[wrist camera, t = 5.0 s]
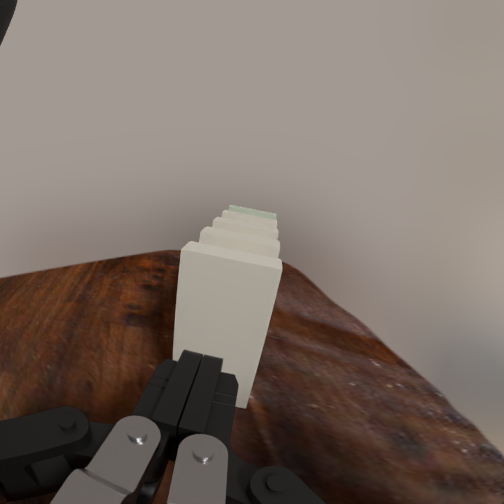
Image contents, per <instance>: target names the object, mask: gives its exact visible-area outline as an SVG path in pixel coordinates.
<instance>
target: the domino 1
mask: <svg viewBox="0 0 504 504" xmlns="http://www.w3.org/2000/svg"><path fill="white" fill-rule="evenodd" d="M281 273H282V261H281V259H277V258H272V257H267V256H262V255H257V254H252V253H247V252H242V251H237V250H232V249H227V248H222V247H217V246H212V245H207V244H203V243H198V242H193V241H190V242H189V243H187V244H186V245H185V246H184V247H183V248H182V249H181V257H180V267H179V276H178V287H177V298H176V311H175V325H174V342H173V360H175V361H178V360H179V358H180V356H181V354H182V352H183V350H184V349H185V350H189V351H193V352H197V353H201V354H203V356H204V354H206V355H210V356H214V357H219V358H223V365H222V371H221V372H225V373H229V374H234V375H235V377H236V379H237V382H238V384H239V387H238V394H237V400H236V406H235V407H240V408H245V409H246V406H247V403H248V399H249V396H250V392H251V389H252V385H253V381H254V378H255V374H256V371H257V367H258V363H259V360H260V356H261V352H262V348H263V345H264V341H265V337H266V333H267V329H268V326H269V322H270V318H271V314H272V310H273V306H274V302H275V298H276V294H277V290H278V286H279V282H280V278H281Z"/></svg>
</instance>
